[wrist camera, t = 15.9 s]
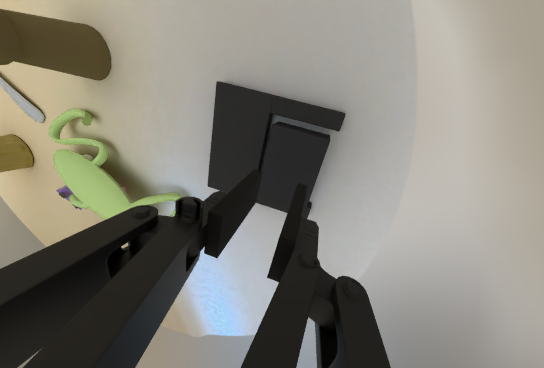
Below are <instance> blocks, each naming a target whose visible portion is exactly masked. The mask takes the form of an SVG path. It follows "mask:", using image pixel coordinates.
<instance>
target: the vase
mask: <svg viewBox="0 0 544 368" xmlns="http://www.w3.org/2000/svg"><path fill="white" fill-rule="evenodd" d="M32 165H33V156H32V153H31V151H30V149H29V148H28V146H27V145H26V144H25V143H24V142H23V141H22V140H21V139H20V138H18V137H16V136H14V135H4V136H0V172H5V171H10V170H16V169H21V168H28V167H31V166H32Z"/></svg>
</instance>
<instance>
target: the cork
mask: <svg viewBox="0 0 544 368" xmlns="http://www.w3.org/2000/svg"><path fill="white" fill-rule="evenodd" d="M13 61H15V62H19V63H24V64H28V65H33V66H37V67H41V68H46V69H50V70H55V71H59V72H63V73H68V74H72V75H77V76H81V77H85V78H90V79H94V80H102V79H104V78H106V77H107V75H108V74H109V72H110V68H111V57H110V53H109V49H108V47H107V45H106V42H105V40H104V39H103V38H102V36H101V35H100V33H99V32H97V31H96V30H95V29H94V28H93V27H90V26H88V25H85V24H80V23H74V22H69V21H63V20H58V19H52V18H47V17H41V16H36V15H31V14H25V13H20V12H14V11H9V10H3V9H0V65H7V64H9V63H11V62H13Z"/></svg>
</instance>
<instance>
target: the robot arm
mask: <svg viewBox="0 0 544 368" xmlns="http://www.w3.org/2000/svg"><path fill="white" fill-rule="evenodd" d="M262 174H263V172H261V171H258V170H255V169H253V170H252V171H251V172H250V173H249V174H248V175H247V176H246V177H245V178H244V179H243V180H242V181H240V182H239V183H238V184H237V185H236V186H235V187H234V188H233V189H232V190H231V191H230V192H229V193H226V192H223V191H218V192H215V193H213V194H212V195H210V196H209V197H208V198H207V199H205V201H202V200H201V199H199V198H196V197H182V198H179V199H177V200H176V213H175V216H174V217H170V216H161V215H158V210H157V208H155V207H153V206H150V205H140V206H135V207H132V208H130V209H128V210H126V211H123V212H121V213H119V214H117V215H115V216H113V217H111V218H108V219H106V220H104V221H102V222H100V223H98V224H96V225H93V226H91V227H89V228H87V229H85V230H83V231H81V232H78V233H76V234H74V235H72V236H70V237H68V238H66V239H63V240H61V241H59V242H57V243H55V244H53V245H51V246H48V247H46V248H44V249H42V250H40V251H38V252H36V253H33V254H31V255H29V256H27V257H25V258H23V259H21V260H19V261H16V262H14V263H12V264H10V265H8V266H6V267H3V268H2V269H0V368H17V367H19V366H20V365H21V364H22V363H24V362H25V361H26V360H27V359H29V358H30V357H31V356H32V355H34V354H35V353H36V352H38V351H39V350H40V349H41V348H42V349H41V350H40V351H39V352H38V353H37V354H36V355H35V356H34V357H33V358H32V359H31V360H30V361H29V362H28V363H27V364H26V365H25V366H24V367H23V368H135V367H136V365H137V364H138V362H139V360H140V358H141V357H142V355H143V353H144V352H145V350H146V348H147V347H148V345H149V343H150V341H151V340H152V338H153V336H154V335H155V333H156V331H157V329H158V328H159V326H160V324H161V323H162V321H163V319H164V318H165V316H166V314H167V312H168V311H169V309H170V307H171V306H172V304H173V302H174V301H175V299H176V297H177V295H178V294H179V292H180V290H181V289H182V287H183V285H184V283H185V282H186V280H187V278H188V277H189V275H190V273H191V272H192V270H193V268H194V266H195V265H196V263H197V261H198V260H199V256H200V251H201V250H202V249H203V247H204V246H205V250H204V253H205V254H207V255H210V256H213V257H215V258H218V256H219V255H220V253H221V252H222V250H223V249H224V248H225V246H226V245H227V243H228V242H229V240H230V239H231V238H232V236H233V235H234V233H235V232H236V230H237V229H238V227H239V226H240V225H241V223H242V222H243V220H244V219H245V217H246V216H247V215H248V213H249V212H250V210H251V209H252V207H253V206H254V204H255V203H256V201H257V197H258V192H259V188H260V183H261V178H262ZM307 187H308V186H306V185H303V184H300V183H298V184H297V187H296V190H295V193H294V196H293V199H292V202H291V205H290V208H289V211H288V214H287V217H286V220H285V223H284V225H283V228H282V231H281V234H280V237H279V241H278V244H277V247H276V250H275V254H274V257H273V260H272V263H271V267H270V270H269V273H268V276H267V278H270V279H272V280H275V281H277V282H279V284H278V286H277V288H276V291H275V293H274V295H273V297H272V300H271V302H270V304H269V306H268V308H267V311H266V313H265V315H264V317H263V319H262V322H261V324H260V326H259V328H258V331H257V333H256V335H255V337H254V339H253V342H252V344H251V346H250V348H249V351H248V353H247V355H246V357H245V359H244V362H243V364H242V366H241V368H296V366H297V362H298V357H299V353H300V349H301V345H302V340H303V336H304V332H305V328H306V324H307V319H308V317H309V318H311V319H312V320H313V321H314V322H315V331H316V353H317V368H391V367H390V364H389V361H388V358H387V354H386V351H385V348H384V345H383V342H382V338H381V335H380V332H379V329H378V326H377V323H376V319H375V316H374V313H373V310H372V307H371V304H370V301H369V297H368V295H367V293H366V290H365V289H364V288H363V286H362V285H361V284H360V283H359V282H357V281H356V280H355V279H353V278H350V277H347V276H341V277H338V278H337V279H336V278H334V277H332V276H331V275H329V274H328V273H327V272H325V271H324V270H323V269H322V268H321V266H320V262H319V260H318V258H317V252H318V233H319V227H318V225H317V224H316V222H314V221H311V220H308V219H305V218H302V217H301V216H302V211H303V206H304V202H305V197H306V192H307ZM127 242H128V246H127V247H125V248H123V249H122V248H121V246H122V245H124V244H126V243H127Z"/></svg>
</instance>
